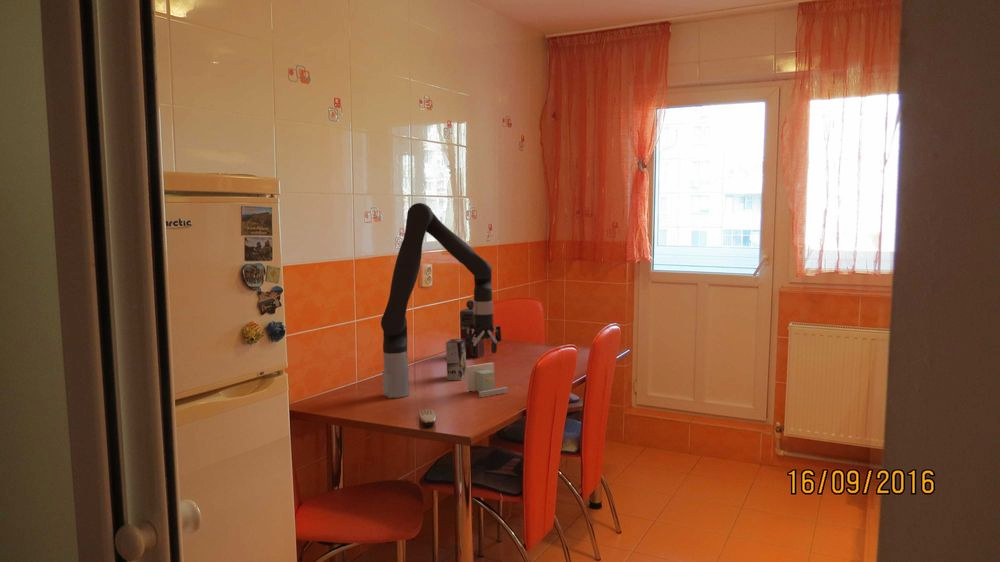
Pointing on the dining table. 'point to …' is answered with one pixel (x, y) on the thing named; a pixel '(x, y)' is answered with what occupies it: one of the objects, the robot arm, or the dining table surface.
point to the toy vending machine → (468, 323)
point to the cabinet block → (485, 380)
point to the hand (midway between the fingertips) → (484, 354)
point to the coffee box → (456, 359)
